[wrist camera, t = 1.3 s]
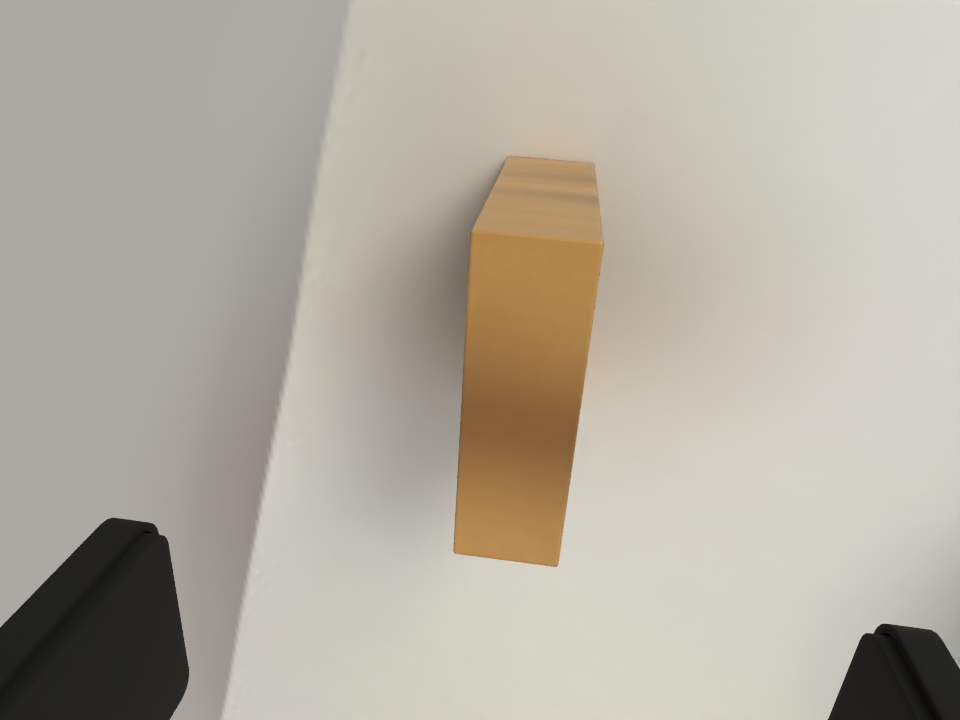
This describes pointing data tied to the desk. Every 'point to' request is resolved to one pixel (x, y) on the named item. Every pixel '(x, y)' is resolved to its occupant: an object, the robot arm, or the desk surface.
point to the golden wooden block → (526, 357)
